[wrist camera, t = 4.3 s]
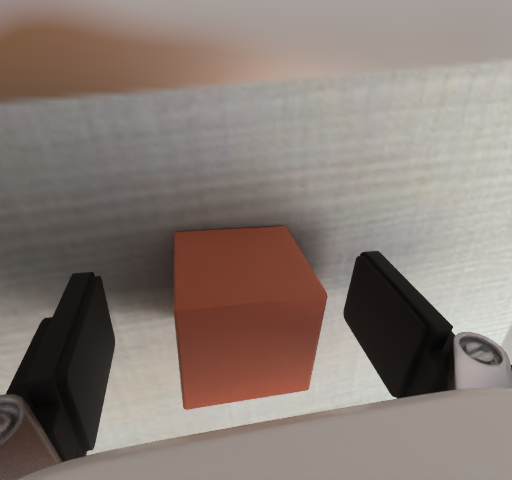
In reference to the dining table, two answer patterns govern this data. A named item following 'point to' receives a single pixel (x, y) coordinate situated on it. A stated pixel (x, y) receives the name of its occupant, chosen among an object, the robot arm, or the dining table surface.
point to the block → (244, 314)
